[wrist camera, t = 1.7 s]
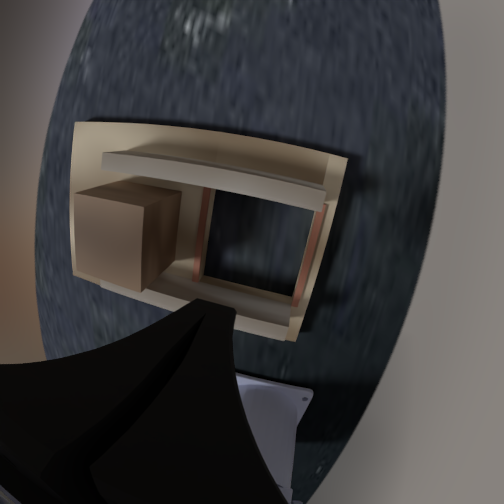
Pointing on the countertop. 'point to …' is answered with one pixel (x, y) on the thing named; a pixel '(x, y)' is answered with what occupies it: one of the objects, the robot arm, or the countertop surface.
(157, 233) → the walnut block
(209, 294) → the frame
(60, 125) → the countertop surface
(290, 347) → the countertop surface
